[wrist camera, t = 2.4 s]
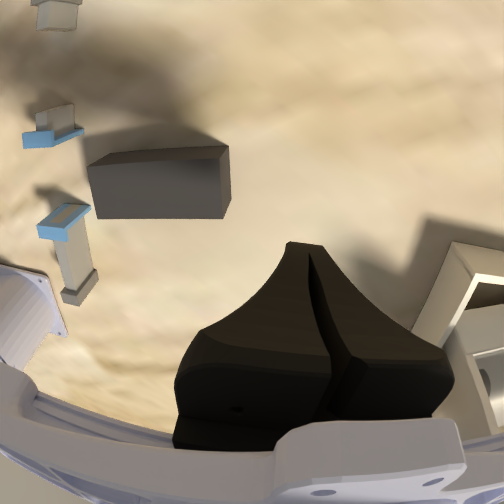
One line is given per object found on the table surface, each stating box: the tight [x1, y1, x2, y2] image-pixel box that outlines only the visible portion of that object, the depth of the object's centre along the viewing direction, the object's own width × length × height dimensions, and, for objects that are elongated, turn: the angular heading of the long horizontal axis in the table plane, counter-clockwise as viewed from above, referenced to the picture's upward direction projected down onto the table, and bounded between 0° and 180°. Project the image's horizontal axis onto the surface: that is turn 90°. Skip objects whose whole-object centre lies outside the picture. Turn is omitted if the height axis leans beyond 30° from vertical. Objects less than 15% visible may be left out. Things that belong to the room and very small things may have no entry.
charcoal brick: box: [87, 146, 231, 219], centre depth 18 cm, size 8×3×3 cm, turn 91°
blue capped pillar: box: [22, 0, 99, 306], centre depth 17 cm, size 3×22×4 cm, turn 175°
